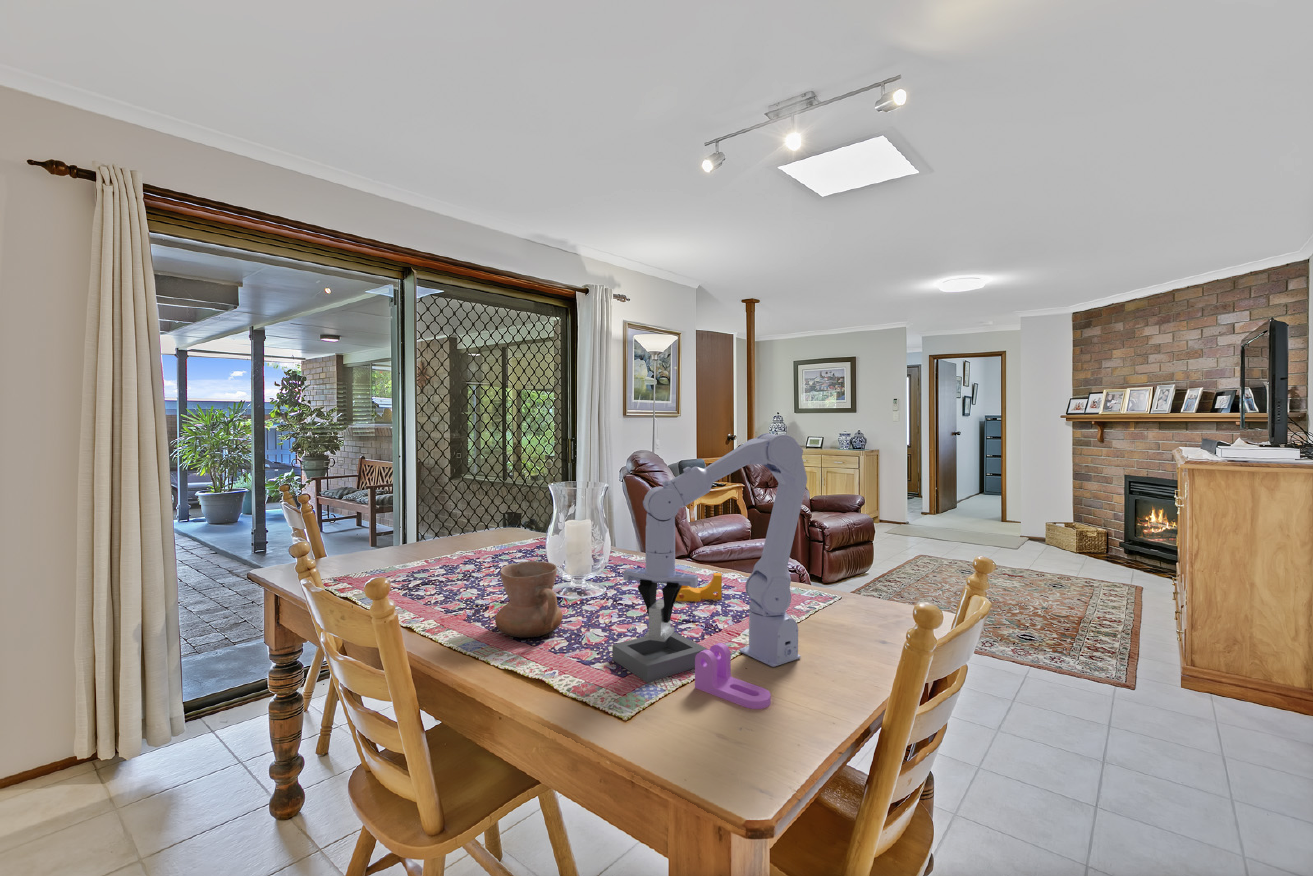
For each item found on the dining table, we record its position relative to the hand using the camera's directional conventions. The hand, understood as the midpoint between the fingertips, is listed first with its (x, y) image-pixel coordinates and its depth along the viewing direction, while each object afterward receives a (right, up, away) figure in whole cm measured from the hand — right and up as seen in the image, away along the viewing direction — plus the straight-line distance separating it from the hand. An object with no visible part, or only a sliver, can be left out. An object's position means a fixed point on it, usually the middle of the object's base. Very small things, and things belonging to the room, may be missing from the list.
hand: (659, 620), depth 114 cm
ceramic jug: (-28, -8, +16) cm, 33 cm away
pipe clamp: (+10, -7, +40) cm, 42 cm away
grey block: (0, -3, 0) cm, 3 cm away
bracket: (+13, -9, -13) cm, 20 cm away
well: (0, -8, 0) cm, 8 cm away
